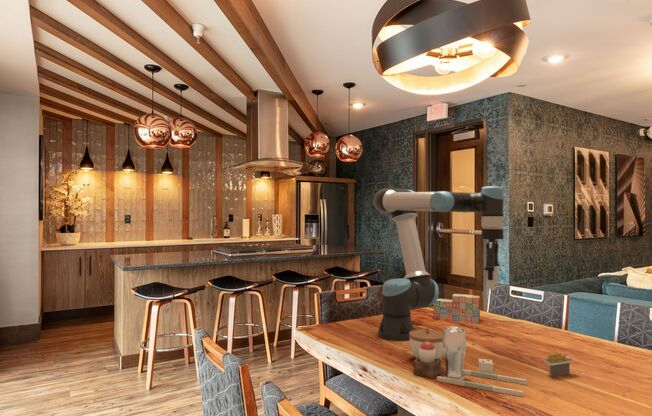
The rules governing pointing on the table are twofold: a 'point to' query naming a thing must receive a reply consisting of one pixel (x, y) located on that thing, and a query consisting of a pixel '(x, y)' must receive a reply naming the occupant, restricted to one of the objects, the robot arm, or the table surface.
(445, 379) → the track
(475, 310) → the stack of blocks
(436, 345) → the lidded bowl
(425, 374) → the button housing
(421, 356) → the dome button
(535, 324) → the table surface
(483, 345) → the table surface
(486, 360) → the die
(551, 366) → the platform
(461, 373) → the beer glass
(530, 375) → the table surface
